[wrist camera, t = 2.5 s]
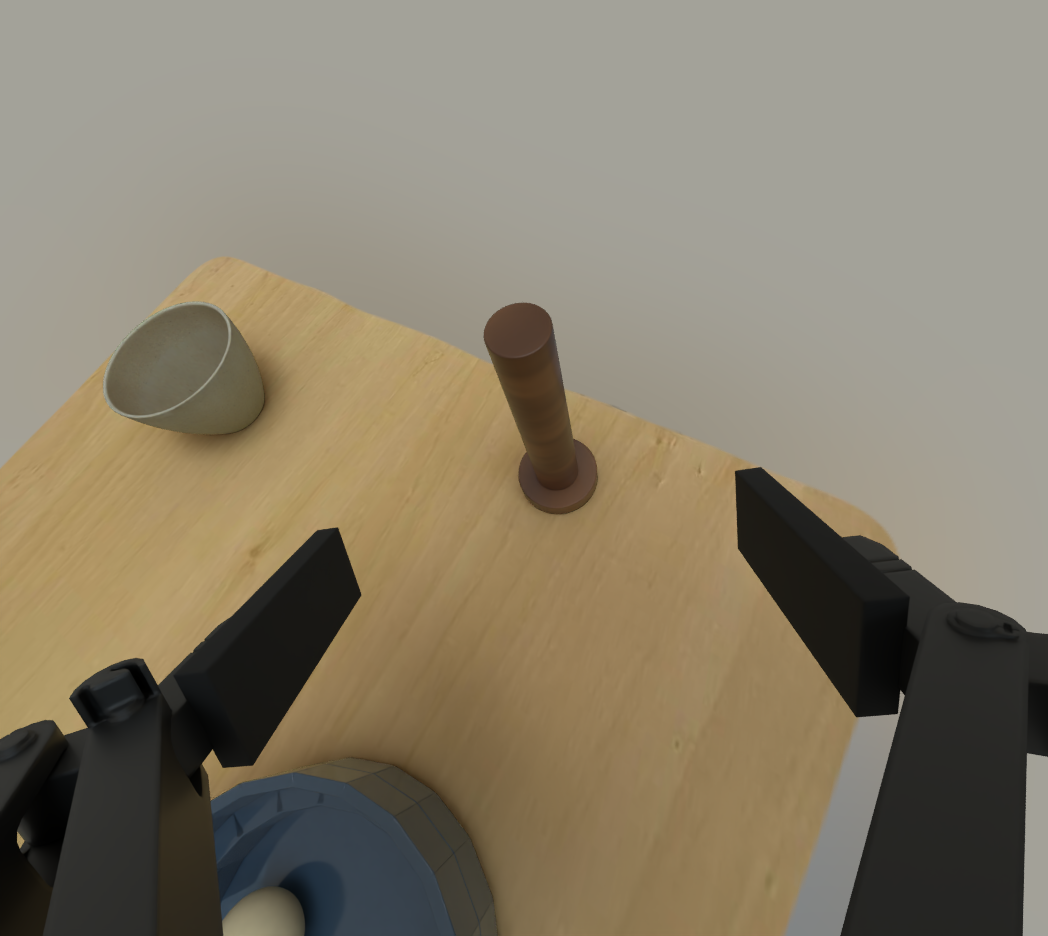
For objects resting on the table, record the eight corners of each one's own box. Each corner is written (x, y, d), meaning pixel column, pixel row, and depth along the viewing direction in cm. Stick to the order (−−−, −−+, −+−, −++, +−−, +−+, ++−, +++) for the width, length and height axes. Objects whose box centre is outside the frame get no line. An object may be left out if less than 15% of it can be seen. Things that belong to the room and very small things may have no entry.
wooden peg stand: (609, 457, 33) (603, 294, 19) (579, 525, 31) (549, 400, 17) (540, 434, 34) (489, 269, 21) (509, 497, 33) (431, 363, 19)
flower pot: (199, 367, 43) (126, 312, 37) (300, 352, 42) (243, 291, 35) (168, 468, 39) (80, 425, 33) (280, 454, 38) (211, 407, 31)
